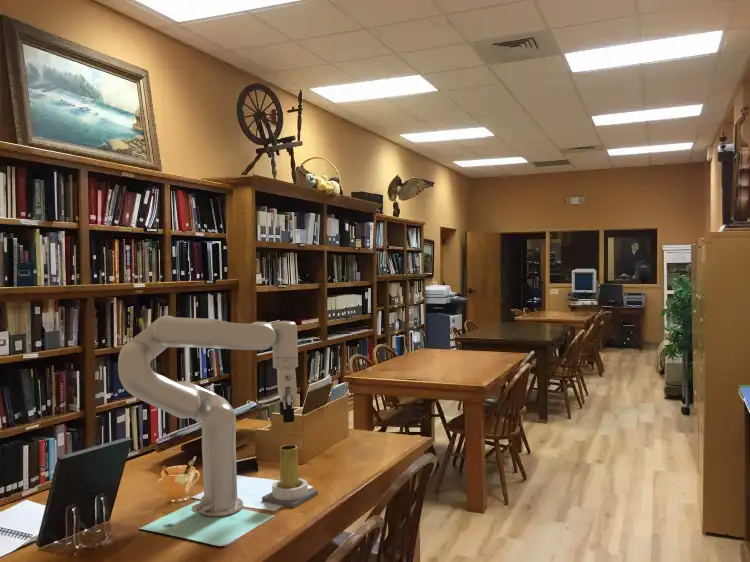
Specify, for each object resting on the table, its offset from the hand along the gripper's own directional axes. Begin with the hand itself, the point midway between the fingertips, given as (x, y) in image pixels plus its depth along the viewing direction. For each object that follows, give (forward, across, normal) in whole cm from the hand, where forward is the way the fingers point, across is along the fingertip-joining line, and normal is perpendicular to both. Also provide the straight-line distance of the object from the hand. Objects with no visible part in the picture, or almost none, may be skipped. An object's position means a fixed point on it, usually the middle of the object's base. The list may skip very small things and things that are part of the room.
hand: (287, 418), depth 189 cm
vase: (+23, 0, 0) cm, 23 cm away
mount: (+24, 0, 0) cm, 24 cm away
